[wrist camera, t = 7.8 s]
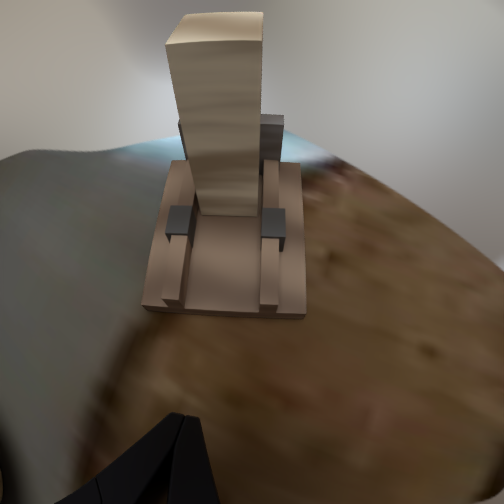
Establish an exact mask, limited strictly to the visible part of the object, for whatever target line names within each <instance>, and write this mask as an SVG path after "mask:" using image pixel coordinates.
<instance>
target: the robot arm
mask: <svg viewBox="0 0 504 504" xmlns="http://www.w3.org/2000/svg"><path fill="white" fill-rule="evenodd" d="M54 504H220V500H219V497H218V493H217V489H216V486H215V482H214V478H213V474H212V470H211V466H210V462H209V458H208V454H207V449H206V445H205V441H204V436H203V432H202V427H201V422H200V419H199V417H195V416H190V415H186V416H185V415H184V414H180V413H175V412H171V413H169V414H168V415H167V416H166V417H165V418H164V419H163V420H162V421H160V422H159V423H158V424H157V425H156V426H155V427H154V428H152V429H151V430H150V431H149V432H148V433H147V434H146V435H144V436H143V437H142V438H141V439H140V440H139V441H137V442H136V443H135V444H134V445H133V446H132V447H130V448H129V449H128V450H127V451H126V452H124V453H123V454H122V455H121V456H120V457H118V458H117V459H116V460H115V461H114V462H112V463H111V464H110V465H109V466H107V467H106V468H105V469H104V470H102V471H101V472H100V473H99V474H97V475H96V478H95V477H93V478H92V479H91V480H90V481H88V482H87V483H86V484H85V485H83V486H82V487H80V488H79V489H78V490H76V491H75V492H73V493H72V494H70V495H68V496H67V497H65V498H63V499H62V500H60V501H58V502H56V503H54Z"/></svg>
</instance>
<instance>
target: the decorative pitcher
mask: <svg viewBox="0 0 504 504" xmlns="http://www.w3.org/2000/svg"><path fill="white" fill-rule="evenodd" d="M2 496H3V480H2V473H1V469H0V502H1V499H2Z"/></svg>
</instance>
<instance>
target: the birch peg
mask: <svg viewBox="0 0 504 504" xmlns="http://www.w3.org/2000/svg"><path fill="white" fill-rule="evenodd" d="M262 41H263V12H218V13H200V14H188V15H185V16H184V17H183V18H182V20H181V22H180V23H179V24H178V26H177V27H176V29H175V30H174V32H173V33H172V35H171V36H170V38H169V39H168V41H167V42H166V44H165V47H166V52H167V58H168V63H169V68H170V74H171V78H172V84H173V89H174V94H175V98H176V103H177V109H178V113H179V118H180V123H181V128H182V132H183V137H184V141H185V146H186V150H187V155H188V159H189V164H190V168H191V173H192V177H193V181H194V185H195V190H196V194H197V198H198V202H199V206H200V211H201V215H218V216H250V217H257V208H258V183H259V152H260V117H261V79H262Z"/></svg>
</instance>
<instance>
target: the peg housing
mask: <svg viewBox="0 0 504 504" xmlns="http://www.w3.org/2000/svg"><path fill="white" fill-rule="evenodd" d="M178 127H179V132H180V136H181V140H182V145H183V149H184V153H185V158H186V160H173V161H172V162H171V165H170V169H169V173H168V177H167V181H166V185H165V189H164V193H163V197H162V201H161V205H160V210H159V214H158V218H157V223H156V228H155V232H154V237H153V242H152V247H151V252H150V257H149V262H148V267H147V273H146V278H145V284H144V290H143V296H142V302H141V305H142V306H143V307H144V308H145V309H146V310H147V311H158V312H170V313H183V314H197V315H213V316H231V317H253V318H284V319H303V318H304V317H305V315H306V270H305V242H304V220H303V201H302V185H301V170H300V163H290V162H280V158H281V149H282V139H283V129H284V115H270V114H261V117H260V152H259V183H258V208H257V217H250V216H218V215H201V211H200V206H199V202H198V198H197V194H196V190H195V185H194V181H193V177H192V173H191V168H190V164H189V159H188V155H187V150H186V146H185V141H184V137H183V132H182V128H181V123H180V119H179V122H178Z"/></svg>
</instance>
